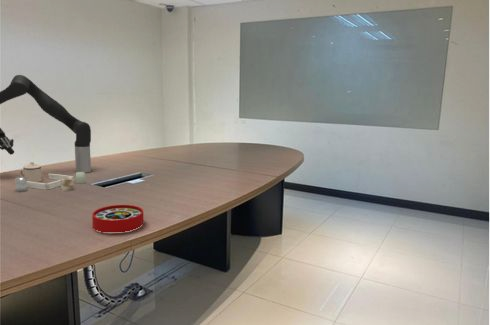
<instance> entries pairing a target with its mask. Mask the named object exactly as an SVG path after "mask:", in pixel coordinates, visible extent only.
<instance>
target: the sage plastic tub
mask: <svg viewBox="0 0 490 325" xmlns="http://www.w3.org/2000/svg"><path fill="white" fill-rule="evenodd" d="M85 183H86V173H85V172H76V171H75V184H77V185H79V184H80V185H81V184H85Z"/></svg>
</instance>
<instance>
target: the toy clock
mask: <svg viewBox="0 0 490 325" xmlns="http://www.w3.org/2000/svg"><path fill="white" fill-rule="evenodd" d="M91 216H92V217H91V218H92V229H93V228H94V229H95V230H98V231H101V232H125V231H130V230H133V229H136V228H138V227H140V226H141V225H142V224H143V222H145V221H144V219H145V218H144V209H143V208H142V207H139V206H137V205H133V204H132V205H131V204H130V205H129V204H113V205H108V206H103V207H100V208H98V209H96V210H94V211H93V212H92V214H91ZM143 225H144V224H143ZM95 230H94V231H95Z"/></svg>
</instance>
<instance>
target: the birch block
mask: <svg viewBox="0 0 490 325" xmlns="http://www.w3.org/2000/svg"><path fill="white" fill-rule="evenodd" d="M60 180H61V186H60V190H62V191H63V192H68V191H74V182H73V179H72V178H61V179H60Z"/></svg>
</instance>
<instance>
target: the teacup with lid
mask: <svg viewBox="0 0 490 325" xmlns="http://www.w3.org/2000/svg"><path fill="white" fill-rule="evenodd" d="M19 174H20V175H21V176H20V177H26V180H27V181H30V182H38V183H42V181H43V180H42V178H43V177H42V165H40V164H37V163H35V162H34V161H30V162H29V163H28V164H27V165H24V166H23V168H21V169H20V170H19Z"/></svg>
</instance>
